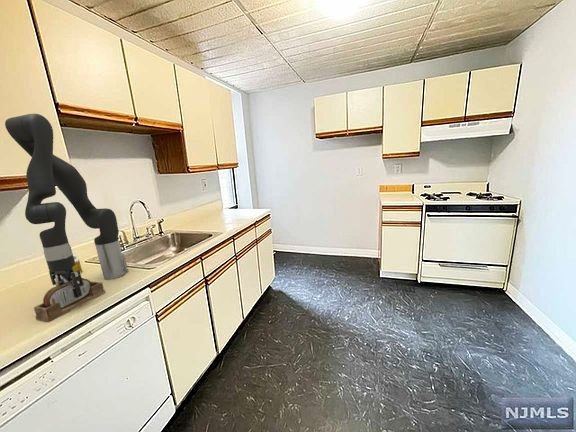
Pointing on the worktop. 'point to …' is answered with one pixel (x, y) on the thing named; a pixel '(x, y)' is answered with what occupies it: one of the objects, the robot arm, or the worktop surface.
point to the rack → (56, 311)
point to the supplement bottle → (77, 265)
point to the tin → (65, 294)
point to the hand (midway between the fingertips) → (71, 295)
